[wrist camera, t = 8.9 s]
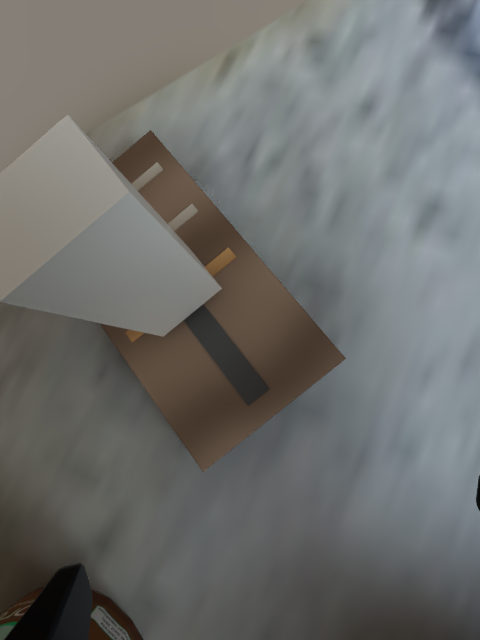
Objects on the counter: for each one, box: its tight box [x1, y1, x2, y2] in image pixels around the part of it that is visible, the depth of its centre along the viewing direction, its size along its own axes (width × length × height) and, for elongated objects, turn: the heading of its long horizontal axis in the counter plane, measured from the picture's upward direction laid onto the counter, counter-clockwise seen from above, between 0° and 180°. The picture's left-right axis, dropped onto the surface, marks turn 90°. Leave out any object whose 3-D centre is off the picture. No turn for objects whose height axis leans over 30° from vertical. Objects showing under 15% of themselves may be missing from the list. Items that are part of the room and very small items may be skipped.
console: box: [100, 130, 346, 472], centre depth 18 cm, size 15×8×3 cm, turn 38°
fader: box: [0, 115, 222, 337], centre depth 12 cm, size 2×4×9 cm
